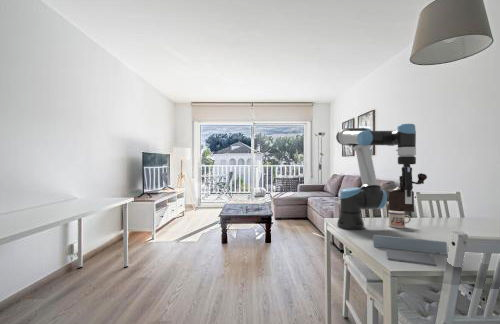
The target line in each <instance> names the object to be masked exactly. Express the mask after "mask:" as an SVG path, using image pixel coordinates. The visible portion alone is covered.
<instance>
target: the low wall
mask: <svg viewBox="0 0 500 324" xmlns="http://www.w3.org/2000/svg"><path fill="white" fill-rule="evenodd" d="M372 239H373V240H372V243H373V244H372V245H373V248H379V249H380V248H387V249H393V250H402V251H405V250H406V251H411V252H420V253H429V254H431V253H433V254H439V255H440V256H447V255H448V254H447V253H448V249H447V247H448V245H447V241H443V240H442V241H441V240H431V239H430V240H429V239H420V238H413V237H412V238H411V237H401V236H400V237H399V236H391V235H390V236H389V235H380V234H379V235H378V234H373V237H372Z"/></svg>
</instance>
